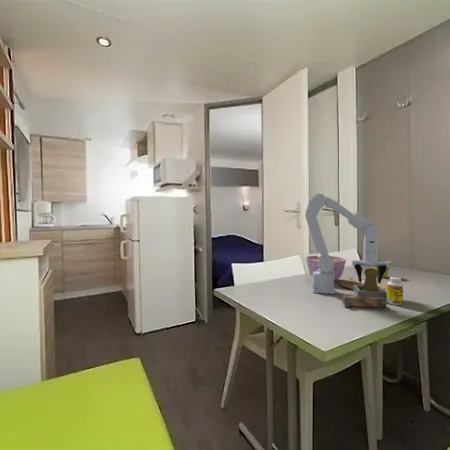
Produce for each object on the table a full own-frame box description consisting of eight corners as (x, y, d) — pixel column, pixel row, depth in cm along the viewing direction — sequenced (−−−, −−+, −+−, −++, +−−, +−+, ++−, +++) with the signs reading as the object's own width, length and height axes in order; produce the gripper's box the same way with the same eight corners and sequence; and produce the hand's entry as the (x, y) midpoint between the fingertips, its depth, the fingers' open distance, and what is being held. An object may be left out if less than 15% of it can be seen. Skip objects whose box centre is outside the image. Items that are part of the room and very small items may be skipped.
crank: (384, 305, 119) (384, 296, 119) (388, 309, 115) (388, 300, 114) (342, 302, 123) (342, 294, 122) (344, 306, 118) (344, 297, 118)
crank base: (374, 310, 115) (374, 309, 115) (370, 305, 121) (370, 304, 121) (392, 311, 114) (392, 310, 114) (387, 306, 120) (387, 305, 120)
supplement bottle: (393, 306, 120) (394, 279, 119) (383, 301, 125) (384, 276, 125) (405, 305, 121) (406, 279, 121) (395, 300, 127) (396, 276, 126)
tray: (358, 297, 131) (358, 290, 131) (353, 290, 142) (353, 284, 142) (386, 299, 129) (386, 292, 129) (379, 292, 140) (379, 285, 140)
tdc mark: (348, 298, 130) (348, 298, 130) (347, 298, 129) (347, 298, 129) (342, 296, 132) (342, 296, 132) (340, 297, 132) (340, 296, 132)
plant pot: (391, 276, 172) (391, 260, 172) (389, 279, 164) (390, 263, 164) (372, 274, 177) (373, 259, 177) (370, 277, 169) (370, 261, 169)
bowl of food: (341, 277, 170) (342, 255, 169) (349, 286, 150) (350, 262, 150) (303, 275, 173) (304, 254, 173) (306, 284, 154) (307, 261, 153)
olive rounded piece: (360, 292, 137) (361, 267, 137) (374, 292, 137) (375, 267, 136) (366, 296, 131) (366, 270, 131) (380, 296, 131) (381, 270, 130)
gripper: (354, 252, 132) (353, 283, 133) (391, 253, 129) (390, 285, 129) (351, 249, 139) (350, 280, 139) (386, 250, 136) (385, 281, 136)
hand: (369, 282), depth 135 cm, fingers open, 7 cm apart
